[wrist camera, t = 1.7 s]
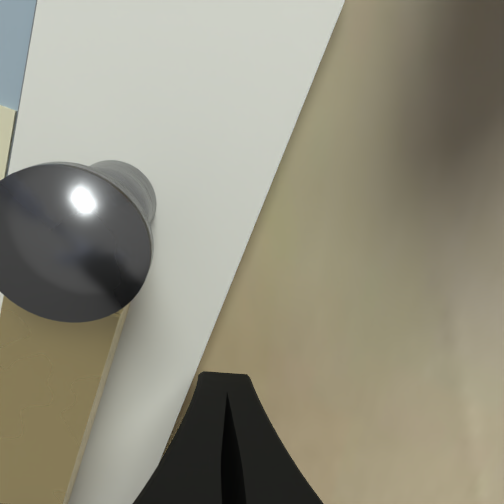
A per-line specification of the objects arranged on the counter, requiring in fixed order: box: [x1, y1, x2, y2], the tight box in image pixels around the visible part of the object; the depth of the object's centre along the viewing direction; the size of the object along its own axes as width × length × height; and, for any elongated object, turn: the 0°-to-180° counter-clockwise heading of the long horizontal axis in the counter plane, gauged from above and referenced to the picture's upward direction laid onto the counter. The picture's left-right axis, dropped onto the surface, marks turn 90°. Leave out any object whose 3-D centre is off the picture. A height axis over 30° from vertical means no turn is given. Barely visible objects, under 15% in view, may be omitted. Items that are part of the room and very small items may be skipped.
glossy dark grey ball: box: [0, 160, 157, 323], centre depth 8 cm, size 3×3×4 cm
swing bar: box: [0, 296, 131, 504], centre depth 10 cm, size 10×2×3 cm, turn 159°
